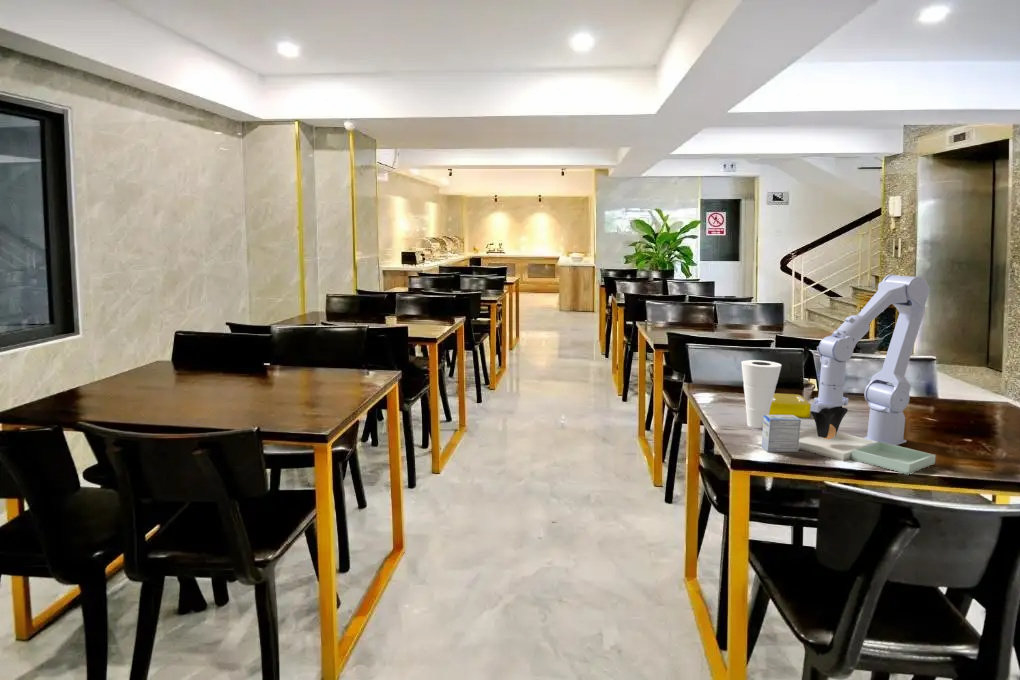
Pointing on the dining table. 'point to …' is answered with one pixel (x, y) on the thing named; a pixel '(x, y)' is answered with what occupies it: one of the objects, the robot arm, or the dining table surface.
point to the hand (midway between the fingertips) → (826, 435)
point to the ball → (831, 432)
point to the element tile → (790, 405)
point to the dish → (893, 457)
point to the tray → (831, 444)
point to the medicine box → (781, 433)
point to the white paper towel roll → (759, 389)
